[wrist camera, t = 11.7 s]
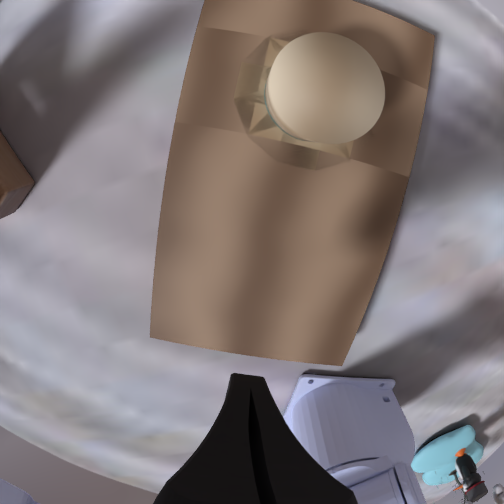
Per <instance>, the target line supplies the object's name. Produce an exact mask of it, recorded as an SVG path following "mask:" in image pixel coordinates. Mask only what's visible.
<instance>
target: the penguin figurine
mask: <svg viewBox="0 0 504 504" xmlns="http://www.w3.org/2000/svg"><path fill="white" fill-rule="evenodd" d="M475 434H476V432H475V430H474V429H473V427H472V426H471V425H466V426H463V427H461V428H459V429H456V430H454V431H452V432H449V433H447V434H444V435H442V436H440V437H438V438H436V439H435V440H433V441H431V442H430V443H428V444H427V445H426V446H424V447H423V448H422V449H421V450H420V451H419V452H418V453H417V454H416V455H415V456H414V458H413V461H412V463H411V467H412V469H413V470H414V471H415V472H418V473H423V476H422V477H423V481H424V482H425V483H426V484H428V485H439V484H443V483H448V482H450V483H451V481H453V480H456V482H457V483H458V484H459V487H458V488H456V489H455V490H457V489H460V488H461V489H462V491H463V493H464V499H465V500H466V499H467V502H466V504H473V502H475V501H477V500H479V499H480V498H482V497H483V496H484V495H486V494H487V493H488V490H487V488H486V486H485V484H484V483H485V481H481V476H480V475H479V474H478V473H476V470H477V468H476V467H477V466H476V465H475V464H476V463H477V462H478V461H479V460H480V459H481V458H482V456H483V450H484V448H483V446H482V445H481V444H479V443H478V442H476V441H475ZM458 477H460V478H461V479H463V480H464V481H463V484H461V483H460V482H459V480H458ZM461 479H460V480H461ZM461 482H462V481H461ZM457 483H456V484H457ZM437 488H438V486H437ZM452 488H453V487H452ZM465 500H464V504H465ZM493 500H494V503H495V504H504V487H502V485H501V484H497V485H495V486H494V487H493ZM433 503H434V502H433Z"/></svg>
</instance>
